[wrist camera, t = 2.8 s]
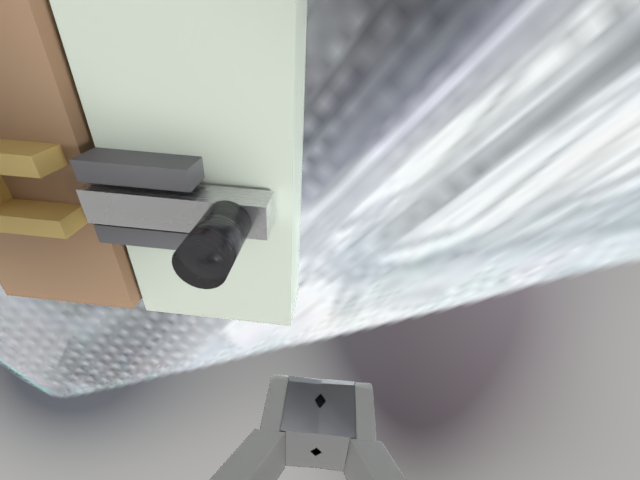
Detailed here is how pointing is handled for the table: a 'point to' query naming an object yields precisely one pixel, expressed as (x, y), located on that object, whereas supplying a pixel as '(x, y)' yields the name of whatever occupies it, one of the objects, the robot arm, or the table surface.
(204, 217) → the bolt
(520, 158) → the table surface
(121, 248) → the door and jamb
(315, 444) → the robot arm
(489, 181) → the table surface
